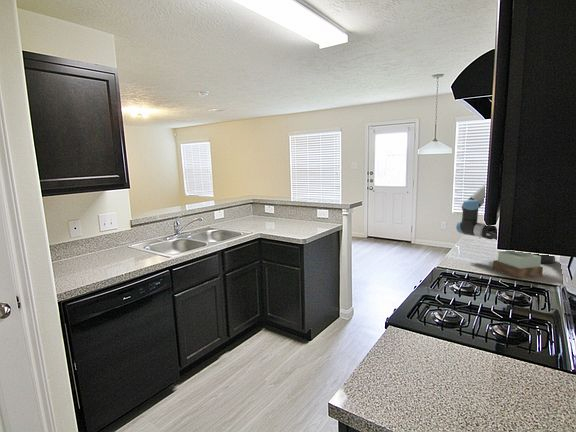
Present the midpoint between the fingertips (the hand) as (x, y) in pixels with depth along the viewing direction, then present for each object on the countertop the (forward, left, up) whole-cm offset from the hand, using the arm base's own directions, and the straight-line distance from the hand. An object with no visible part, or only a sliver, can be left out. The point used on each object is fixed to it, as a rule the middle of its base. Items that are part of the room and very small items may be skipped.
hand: (529, 239), depth 153 cm
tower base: (+1, -4, -18) cm, 19 cm away
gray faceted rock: (+2, -4, -8) cm, 9 cm away
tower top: (+1, -4, -13) cm, 14 cm away
